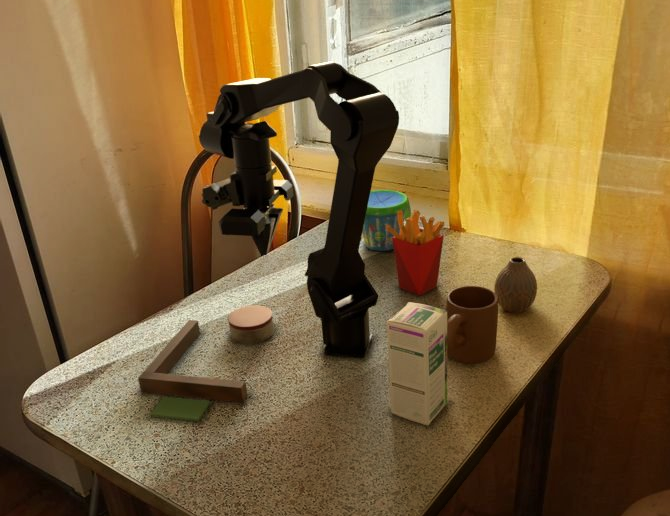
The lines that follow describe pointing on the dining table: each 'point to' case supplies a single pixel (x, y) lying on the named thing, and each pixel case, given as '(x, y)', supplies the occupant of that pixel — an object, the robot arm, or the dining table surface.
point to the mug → (471, 324)
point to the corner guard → (187, 386)
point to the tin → (251, 324)
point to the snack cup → (383, 218)
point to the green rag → (180, 409)
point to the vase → (516, 286)
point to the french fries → (417, 252)
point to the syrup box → (418, 362)
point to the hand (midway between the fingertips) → (264, 254)
